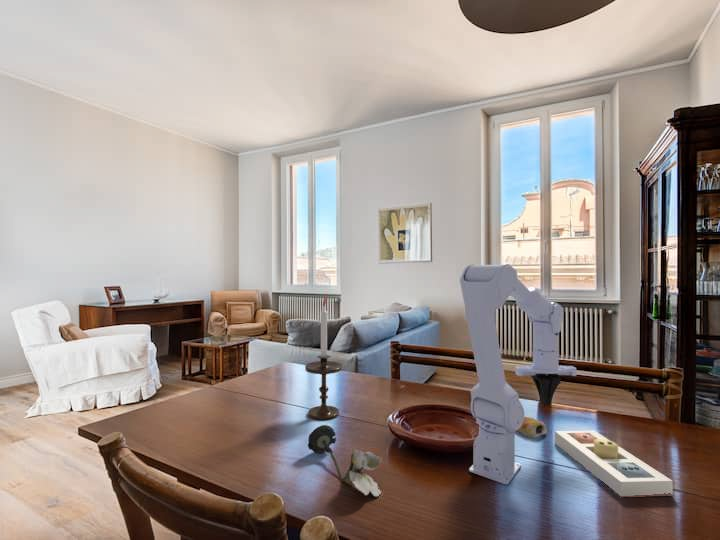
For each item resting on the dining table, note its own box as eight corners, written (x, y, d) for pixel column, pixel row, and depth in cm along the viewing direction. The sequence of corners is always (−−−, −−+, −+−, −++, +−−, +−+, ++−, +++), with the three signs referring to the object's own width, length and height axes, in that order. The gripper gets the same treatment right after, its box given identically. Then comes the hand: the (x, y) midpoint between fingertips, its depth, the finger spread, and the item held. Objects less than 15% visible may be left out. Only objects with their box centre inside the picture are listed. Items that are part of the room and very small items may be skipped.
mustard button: (623, 462, 78) (623, 447, 78) (602, 462, 78) (602, 447, 78) (608, 452, 83) (608, 437, 83) (589, 452, 83) (589, 438, 83)
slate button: (650, 490, 71) (650, 473, 71) (628, 490, 71) (628, 473, 71) (632, 477, 76) (632, 461, 76) (611, 477, 76) (611, 462, 76)
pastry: (502, 426, 102) (502, 412, 102) (519, 422, 105) (519, 408, 105) (532, 440, 93) (532, 425, 93) (549, 435, 96) (549, 420, 96)
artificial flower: (337, 451, 90) (349, 412, 90) (381, 518, 70) (397, 467, 70) (303, 449, 86) (316, 408, 86) (340, 519, 66) (356, 465, 66)
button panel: (672, 496, 70) (672, 480, 70) (621, 497, 69) (621, 481, 69) (594, 442, 92) (594, 430, 92) (554, 443, 91) (554, 431, 91)
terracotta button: (600, 454, 85) (600, 440, 85) (581, 454, 85) (581, 440, 85) (587, 445, 90) (587, 431, 90) (570, 445, 90) (570, 432, 90)
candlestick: (344, 408, 114) (344, 295, 114) (338, 422, 104) (339, 297, 104) (310, 406, 115) (310, 294, 116) (301, 420, 105) (301, 297, 105)
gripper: (564, 346, 96) (564, 398, 96) (509, 346, 96) (509, 398, 96) (581, 352, 89) (581, 408, 89) (522, 352, 89) (522, 409, 89)
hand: (545, 404), depth 92 cm, fingers closed
